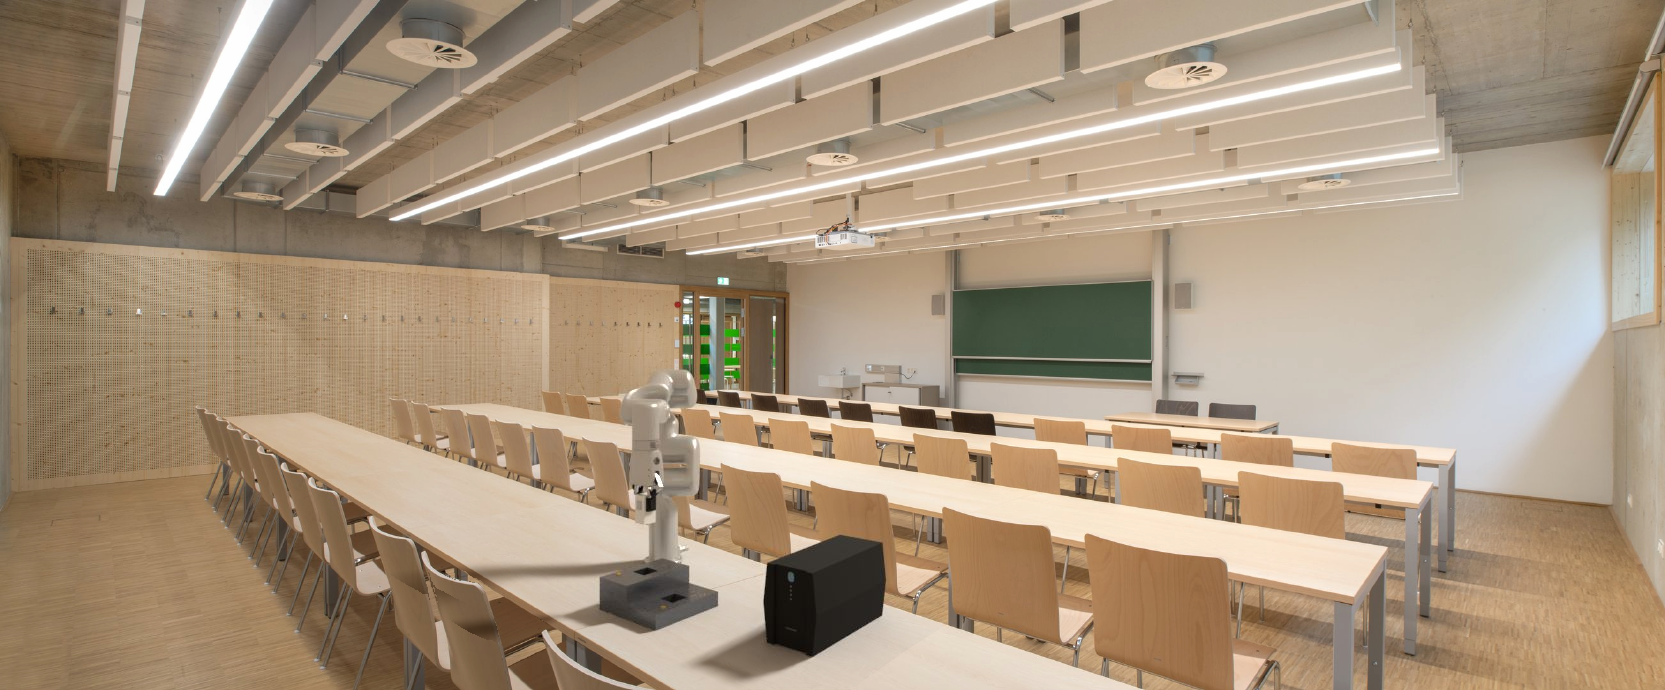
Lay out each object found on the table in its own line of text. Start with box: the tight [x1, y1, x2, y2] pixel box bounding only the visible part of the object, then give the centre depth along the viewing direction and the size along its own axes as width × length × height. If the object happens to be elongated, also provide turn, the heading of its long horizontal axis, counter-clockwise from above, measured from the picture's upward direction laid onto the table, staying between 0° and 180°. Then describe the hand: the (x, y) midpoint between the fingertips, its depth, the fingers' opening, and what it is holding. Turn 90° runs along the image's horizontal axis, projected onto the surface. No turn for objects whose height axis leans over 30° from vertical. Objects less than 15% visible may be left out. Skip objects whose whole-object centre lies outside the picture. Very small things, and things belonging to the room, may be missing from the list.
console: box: [599, 558, 719, 631], centre depth 204 cm, size 22×24×9 cm
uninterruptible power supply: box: [762, 534, 887, 658], centre depth 191 cm, size 16×34×20 cm, turn 145°
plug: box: [634, 491, 656, 526], centre depth 208 cm, size 4×4×8 cm
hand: (645, 509), depth 208 cm, fingers closed on plug, 4 cm apart
